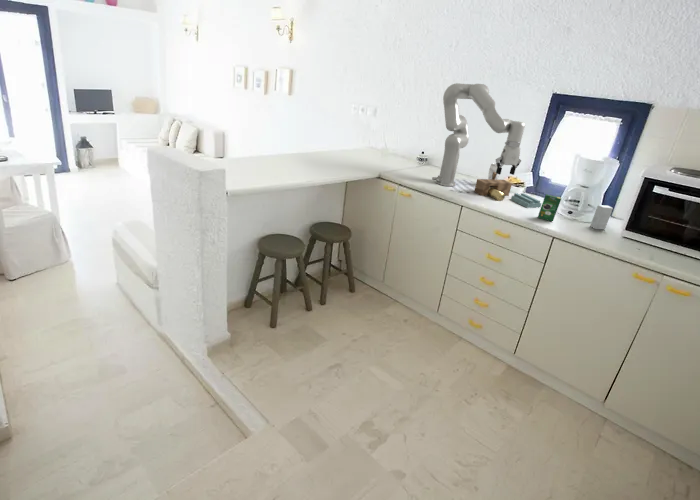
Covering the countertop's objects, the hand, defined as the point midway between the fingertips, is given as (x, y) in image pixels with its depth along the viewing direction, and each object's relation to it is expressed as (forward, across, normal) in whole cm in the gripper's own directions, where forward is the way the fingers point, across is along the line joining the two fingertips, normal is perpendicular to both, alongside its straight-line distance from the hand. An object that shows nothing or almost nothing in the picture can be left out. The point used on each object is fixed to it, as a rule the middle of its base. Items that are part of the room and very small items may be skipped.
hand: (504, 174), depth 239 cm
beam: (+15, +3, +10) cm, 19 cm away
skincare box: (+16, +29, -46) cm, 56 cm away
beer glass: (+15, +12, +23) cm, 30 cm away
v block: (+16, +14, -8) cm, 22 cm away
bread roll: (+16, 0, +5) cm, 16 cm away
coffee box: (+16, +6, -33) cm, 37 cm away
